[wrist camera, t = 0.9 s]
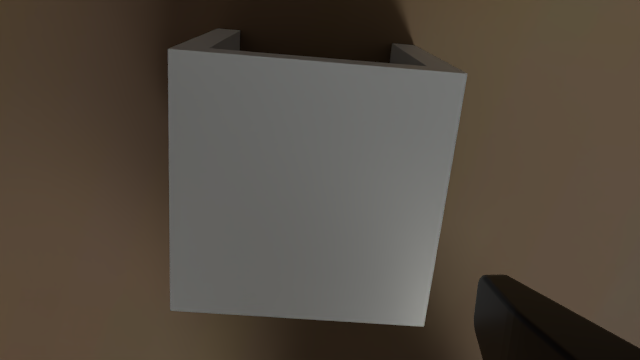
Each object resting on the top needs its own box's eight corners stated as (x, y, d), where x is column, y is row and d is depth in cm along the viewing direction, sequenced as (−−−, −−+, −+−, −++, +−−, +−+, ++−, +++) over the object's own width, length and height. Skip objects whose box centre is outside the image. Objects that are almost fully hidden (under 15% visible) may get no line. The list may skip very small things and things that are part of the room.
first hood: (414, 45, 19) (467, 73, 13) (389, 223, 22) (423, 326, 15) (217, 28, 19) (168, 48, 12) (213, 211, 21) (170, 310, 15)
